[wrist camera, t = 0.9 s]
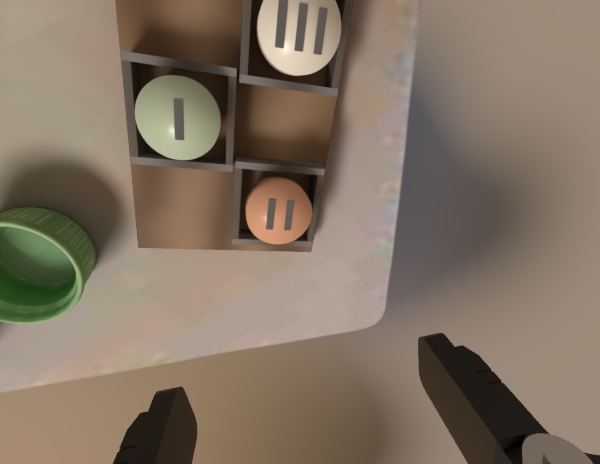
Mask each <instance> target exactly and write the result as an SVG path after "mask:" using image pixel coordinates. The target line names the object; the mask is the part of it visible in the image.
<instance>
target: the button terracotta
mask: <svg viewBox="0 0 600 464" xmlns="http://www.w3.org/2000/svg"><path fill="white" fill-rule="evenodd" d="M245 210H246V219H247V224H248V226H249V229H250V230H251V232H252V233H253V234H254V235H255V236H256V237H257V238H258V239H260V240H262V241H264V242H266V243H270V244H286V243H289V242H292V241H294V240H296V239H297V238H299V237H300V236H301V235H302V234H303V233H304V232H305V231H306V230H307V228H308V226H309V224H310V222H311V218H312V206H311V203H310V200H309V198H308V196H307V195H306V193H305V192H304V190H303V189H302V187H301V186H300V185H299V184H298V183H297V182H296V181H294V180H293V179H291V178H289V177H286V176H280V175H274V176H269V177H266V178H263V179H261V180H259V181H258V182H257V183H255V184H254V185H253V187H252V188H251V189H250V191H249V192H248V195H247V197H246V202H245Z"/></svg>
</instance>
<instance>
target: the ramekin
mask: <svg viewBox="0 0 600 464" xmlns="http://www.w3.org/2000/svg"><path fill="white" fill-rule="evenodd" d="M95 261H96V252H95V248H94V245H93V243H92V240H91V239H90V237H89V236H88V234H87V233H86V232H85V231H84V230H83V228H82V227H81V226H79V224H77V223H76V222H74V221H73V220H72V219H70V218H68V217H66V216H65V215H62V214H60V213H58V212H55V211H52V210H49V209H44V208H37V207H22V208H15V209H11V210H8V211H5V212H2V213H0V321H2V322H7V323H15V324H35V323H41V322H46V321H50V320H53V319H56V318H58V317H60V316H62V315H64V314H65V313H67V312H68V311H70V310H71V309H72V308H73V307H74V306H75V305H76V304H77V302H78V301H79V299H80V297H81V295H82V293H83V289H84V285H85V283H86V282H87V280H88V278H89V277H90V275H91V273H92V271H93V269H94V265H95Z"/></svg>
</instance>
